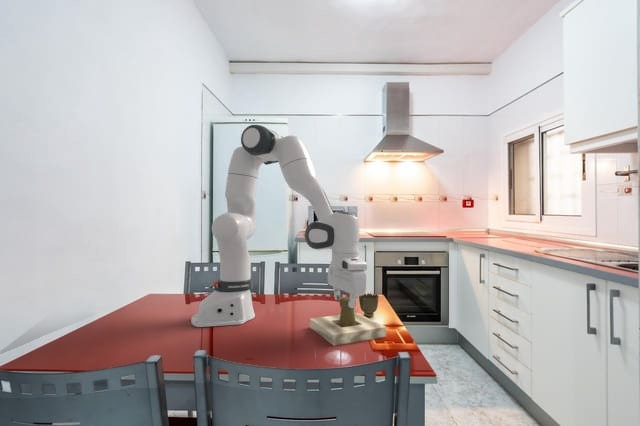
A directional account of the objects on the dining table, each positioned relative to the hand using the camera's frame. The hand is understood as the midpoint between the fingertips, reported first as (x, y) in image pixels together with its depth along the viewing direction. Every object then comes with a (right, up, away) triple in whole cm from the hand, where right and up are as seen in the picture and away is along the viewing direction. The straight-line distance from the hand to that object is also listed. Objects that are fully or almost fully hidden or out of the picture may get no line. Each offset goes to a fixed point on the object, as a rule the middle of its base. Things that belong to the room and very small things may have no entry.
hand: (344, 303), depth 108 cm
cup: (+10, -10, +17) cm, 22 cm away
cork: (+1, -9, 0) cm, 9 cm away
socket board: (+1, -9, 0) cm, 9 cm away
